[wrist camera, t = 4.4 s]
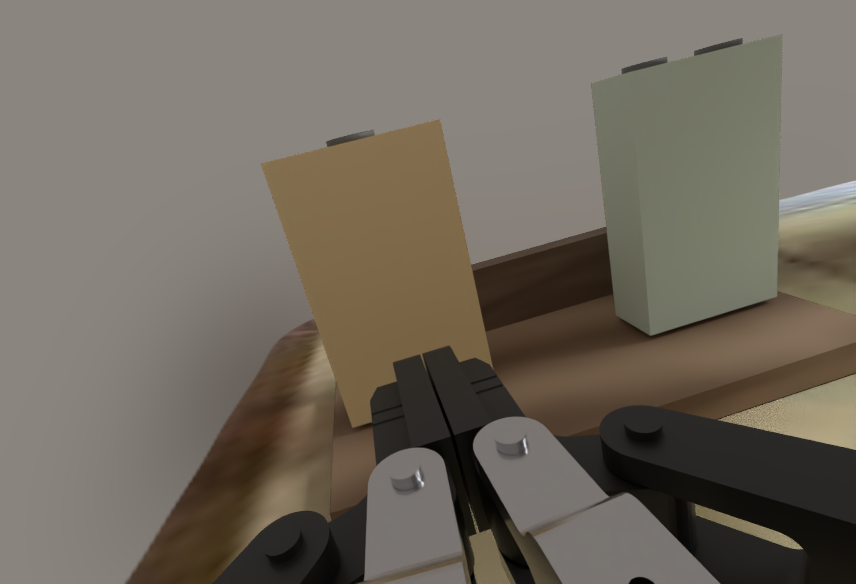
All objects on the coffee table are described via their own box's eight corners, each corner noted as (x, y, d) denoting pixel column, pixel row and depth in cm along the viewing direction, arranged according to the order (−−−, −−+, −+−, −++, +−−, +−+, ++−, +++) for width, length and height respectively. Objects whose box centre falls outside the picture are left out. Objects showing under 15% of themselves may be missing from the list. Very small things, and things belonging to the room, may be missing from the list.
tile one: (496, 383, 21) (438, 112, 17) (352, 428, 21) (258, 156, 17) (478, 356, 24) (425, 118, 20) (351, 395, 23) (270, 156, 19)
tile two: (777, 296, 23) (782, 27, 19) (650, 335, 22) (628, 65, 18) (729, 281, 25) (725, 44, 21) (615, 315, 25) (590, 77, 21)
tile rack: (893, 360, 19) (908, 235, 17) (341, 544, 17) (293, 422, 15) (689, 284, 30) (685, 204, 29) (343, 388, 28) (316, 308, 26)
